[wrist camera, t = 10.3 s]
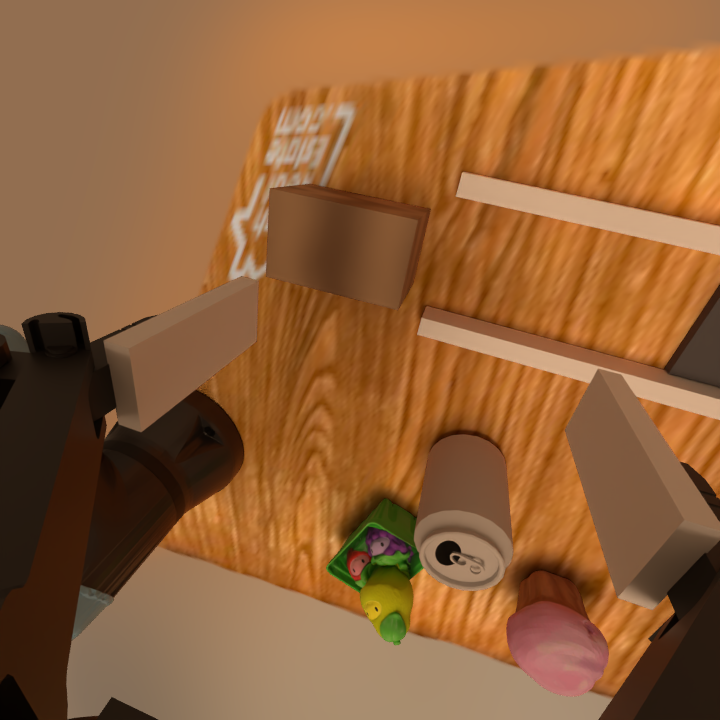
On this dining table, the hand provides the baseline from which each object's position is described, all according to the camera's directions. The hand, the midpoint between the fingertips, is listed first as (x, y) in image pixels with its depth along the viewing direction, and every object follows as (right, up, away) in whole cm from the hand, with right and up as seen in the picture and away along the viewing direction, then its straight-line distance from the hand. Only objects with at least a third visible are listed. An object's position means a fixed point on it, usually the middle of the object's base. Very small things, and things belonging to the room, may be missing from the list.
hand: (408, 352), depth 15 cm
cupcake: (+19, -25, +29) cm, 42 cm away
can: (+9, -10, +24) cm, 28 cm away
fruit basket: (+2, -21, +32) cm, 38 cm away
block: (-2, +10, +17) cm, 20 cm away
